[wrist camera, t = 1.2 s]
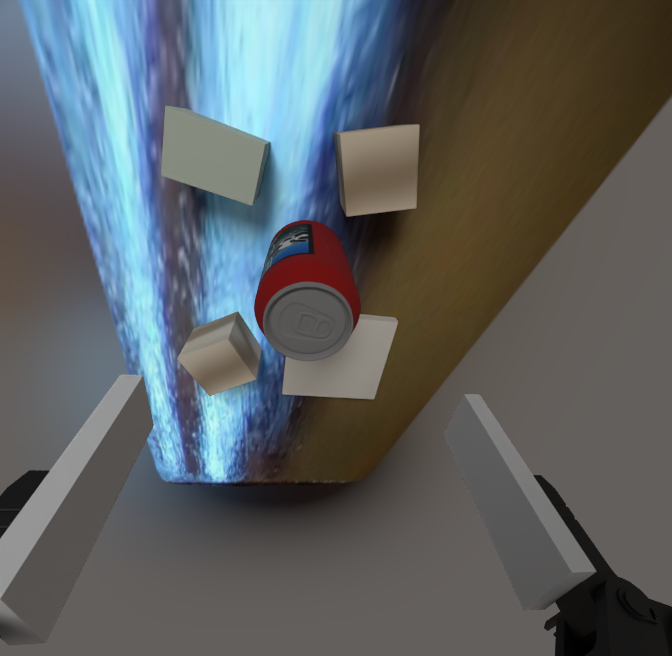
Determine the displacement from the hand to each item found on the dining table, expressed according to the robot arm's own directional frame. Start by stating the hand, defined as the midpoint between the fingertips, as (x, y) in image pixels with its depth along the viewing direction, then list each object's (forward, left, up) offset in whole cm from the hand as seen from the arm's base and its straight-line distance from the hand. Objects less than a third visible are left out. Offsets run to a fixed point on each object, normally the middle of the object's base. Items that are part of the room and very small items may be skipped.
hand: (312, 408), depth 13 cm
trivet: (+11, +4, -18) cm, 22 cm away
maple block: (+10, -7, -18) cm, 22 cm away
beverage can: (0, 0, -19) cm, 19 cm away
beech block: (-8, +4, -18) cm, 21 cm away
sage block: (-7, -7, -18) cm, 21 cm away
